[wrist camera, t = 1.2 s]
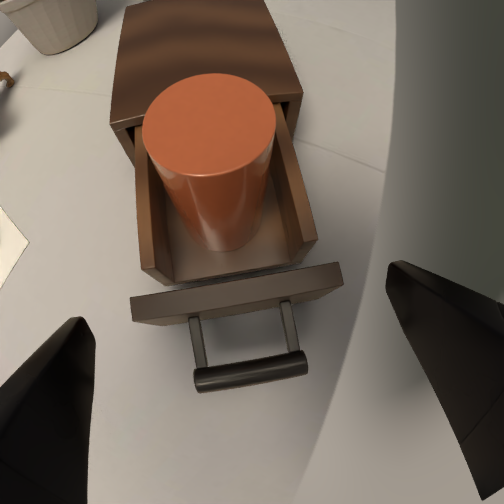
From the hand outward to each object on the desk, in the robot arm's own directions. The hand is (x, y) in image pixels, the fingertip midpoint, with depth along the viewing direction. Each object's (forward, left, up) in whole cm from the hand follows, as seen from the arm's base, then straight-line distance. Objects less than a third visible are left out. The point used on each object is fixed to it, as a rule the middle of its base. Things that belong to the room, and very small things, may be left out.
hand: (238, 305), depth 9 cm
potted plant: (+40, +9, -13) cm, 43 cm away
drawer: (+5, -1, -12) cm, 13 cm away
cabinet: (+19, -4, -13) cm, 23 cm away
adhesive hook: (+14, +20, -13) cm, 28 cm away
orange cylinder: (+7, -2, -11) cm, 13 cm away
